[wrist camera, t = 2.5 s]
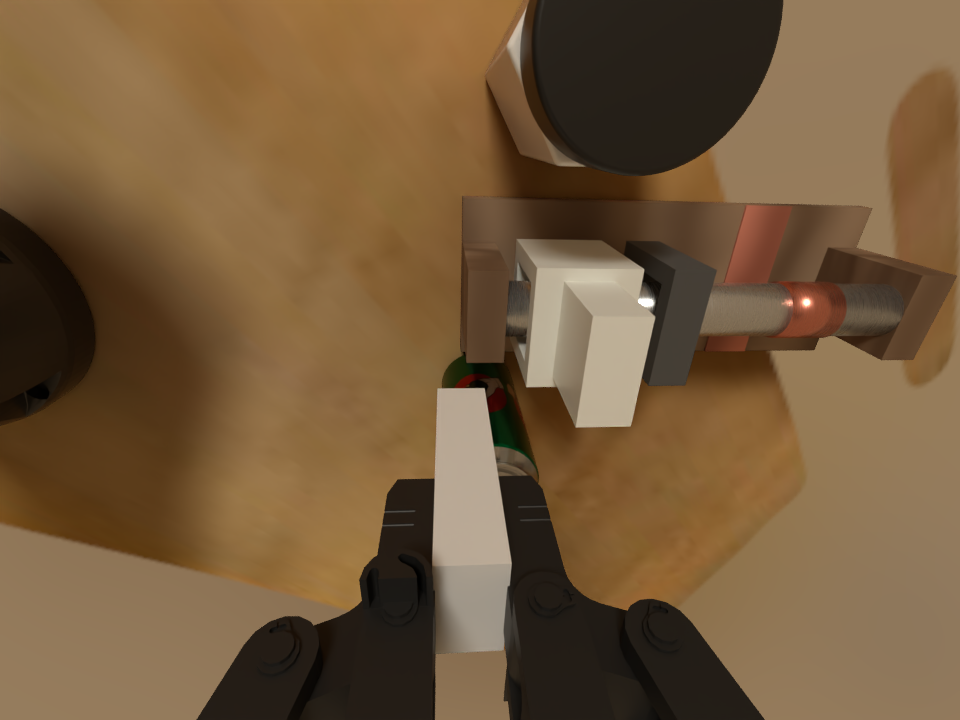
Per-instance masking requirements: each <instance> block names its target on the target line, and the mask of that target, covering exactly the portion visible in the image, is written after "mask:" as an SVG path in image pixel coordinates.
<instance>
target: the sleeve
mask: <svg viewBox="0 0 960 720" xmlns="http://www.w3.org/2000/svg"><path fill="white" fill-rule="evenodd" d="M644 270H645V269H643V268H642V267H640V266H639V265H637V264H636V263H634V262H633V261H631V260H630V259H628V258H627V257H626V256H624V255H623V254H621V253H620V252H618V251H617V250H615V249H614V248H612V247H611V246H609V245H608V244H606V243H605V242H603V241H602V240H554V239H516V254H515V268H514V281H531V293H530V305H529V316H528V328H527V337H510V340H511V343H512V346H513V349H514V352H515V355H516V358H517V361H518V364H519V367H520V370H521V373H522V376H523V379H524V382H525V385H526V387H557V388H558V390H559V392H560V394H561V396H562V399H563V401H564V403H565V405H566V407H567V410H568V412H569V414H570V416H571V418H572V420H573V423H574V425H575V427H625V426H631V423H632V419H633V414H634V410H635V405H636V401H637V396H638V392H639V388H640V383H641V379H642V374H643V370H644V365H645V361H646V356H647V352H648V347H649V343H650V339H651V334H652V330H653V325H654V321H655V316H654V315H653V314H652V313H651V312H650V311H648V310H647V309H646V308H645V307H644V306H643V305H641V304H640V303H639V302H638V299H639V294H640V289H641V284H642V280H643V275H644Z"/></svg>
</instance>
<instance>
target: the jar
mask: <svg viewBox="0 0 960 720" xmlns="http://www.w3.org/2000/svg"><path fill="white" fill-rule="evenodd" d="M782 9H783V0H523V2H522V3H521V5H520V7H519V9H518V11H517V13H516V15H515V17H514V19H513V21H512V23H511V25H510V26H509V28H508V30H507V32H506V34H505V36H504V38H503V40H502V42H501V44H500V46H499V47H498V49H497V51H496V53H495V55H494V57H493V59H492V61H491V63H490V65H489V67H488V69H487V70H486V73H485V78H486V80H487V82H488V85H489V87H490V89H491V91H492V93H493V96H494V98H495V100H496V102H497V104H498V107H499V109H500V111H501V113H502V115H503V118H504V120H505V122H506V124H507V126H508V129H509V131H510V133H511V135H512V137H513V140H514V142H515V144H516V146H517V149H518V151H519V153H520V154H521V155H522V156H525V157H529V158H532V159H536V160H539V161H543V162H546V163H550V164H553V165H557V166H571V167H590V168H593V169H597V170H601V171H605V172H610V173H614V174H619V175H626V176H645V175H652V174H657V173H662V172H665V171H669V170H672V169H674V168H677V167H679V166H681V165H684V164H686V163H688V162H690V161H691V160H693V159H695V158H697V157H698V156H700V155H701V154H703V153H704V152H706V151H707V150H708V149H710V148H711V147H712V146H714V145H715V144H716V143H717V142H718V141H719V140H720V139H721V138H723V136H725V135H726V134H727V132H728V131H729V130H730V129H731V128H732V127H733V126H734V125H735V124H736V122H737V121H738V120H739V119H740V118H741V116H742V115H743V114H744V112H745V111H746V109H747V108H748V106H749V105H750V104H751V102H752V100H753V98H754V97H755V95H756V94H757V92H758V90H759V88H760V86H761V84H762V82H763V80H764V78H765V76H766V73H767V71H768V68H769V66H770V63H771V60H772V57H773V54H774V51H775V48H776V44H777V40H778V36H779V31H780V26H781V20H782Z"/></svg>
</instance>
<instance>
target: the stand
mask: <svg viewBox="0 0 960 720" xmlns="http://www.w3.org/2000/svg"><path fill="white" fill-rule="evenodd" d="M871 211H872V208H868V207H863V206H841V205H802V204H801V205H800V204H761V203H721V202H681V201H640V200H600V199H560V198H519V197H479V196H462V266H461V336H460V347H461V352H465V354H466V363H504V352H514V349H513V346H512V343H511V340H510V337H505V335H506V319H507V303H508V288H509V281H514V268H515V254H516V239H554V240H602V241H603V242H605V243H606V244H608V245H609V246H611V247H612V248H614V249H615V250H617V251H618V252H620V253H621V254H623V255H624V251H625V246H626V241H660V242H662V243H664V244H666V245H668V246H670V247H672V248H674V249H676V250H678V251H680V252H682V253H684V254H686V255H688V256H690V257H692V258H694V259H696V260H698V261H700V262H702V263H704V264H706V265H708V266H710V267H712V268H714V269H716V270H717V272H716V276H715V279H714V283H770V282H774V281H797V282H831V283H833V284H886V285H890V286H892V287H894V288H895V289H896V290H897V291H898V292H899V293H900V294H901V296H902V298H903V302H904V313H903V317H902V319H901V321H900V323H899V324H898V325H897V327H896V328H895V329H893V330H892V331H891V332H889V333H887V334H885V335H881V336H836V337H838V338H840V339H842V340H844V341H846V342H847V343H849V344H851V345H853V346H855V347H857V348H859V349H861V350H863V351H865V352H867V353H869V354H871V355H873V356H874V357H876V358H878V359H881V360H913V359H914V357H915V355H916V353H917V351H918V349H919V348H920V346H921V344H922V342H923V340H924V338H925V336H926V334H927V332H928V330H929V329H930V327H931V325H932V323H933V321H934V319H935V317H936V315H937V313H938V312H939V310H940V308H941V306H942V304H943V302H944V300H945V298H946V296H947V294H948V293H949V291H950V289H951V287H952V285H953V283H954V281H955V279H956V277H957V276H956V275H952V274H949V273H945V272H941V271H938V270H934V269H931V268H927V267H923V266H920V265H916V264H913V263H909V262H905V261H902V260H898V259H895V258H891V257H887V256H883V255H880V254H876V253H873V252H869V251H865V250H862V249H858V248H856V247H857V245H858V242H859V240H860V237H861V235H862V233H863V230H864V228H865V225H866V223H867V220H868V218H869V215H870V213H871ZM818 340H819V338H768V337H766V336H699V337H698V341H697V344H696V348H695V351H751V350H814V349H815V347H816V345H817V342H818Z"/></svg>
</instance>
